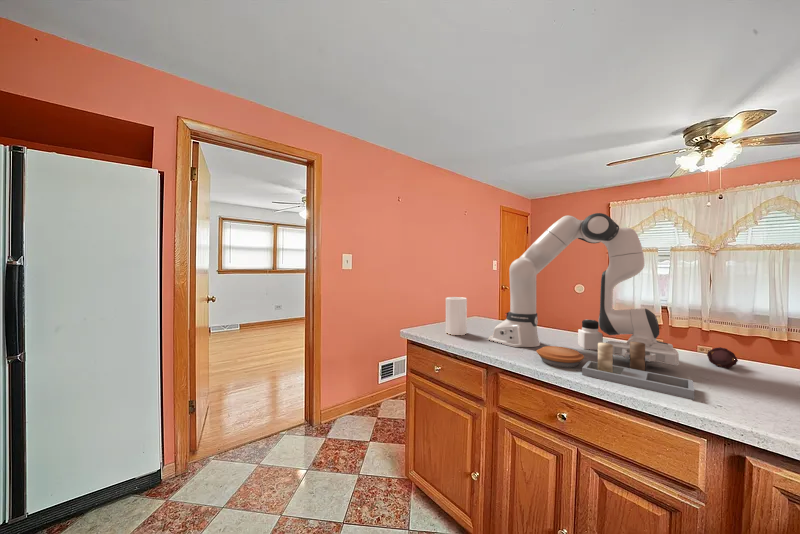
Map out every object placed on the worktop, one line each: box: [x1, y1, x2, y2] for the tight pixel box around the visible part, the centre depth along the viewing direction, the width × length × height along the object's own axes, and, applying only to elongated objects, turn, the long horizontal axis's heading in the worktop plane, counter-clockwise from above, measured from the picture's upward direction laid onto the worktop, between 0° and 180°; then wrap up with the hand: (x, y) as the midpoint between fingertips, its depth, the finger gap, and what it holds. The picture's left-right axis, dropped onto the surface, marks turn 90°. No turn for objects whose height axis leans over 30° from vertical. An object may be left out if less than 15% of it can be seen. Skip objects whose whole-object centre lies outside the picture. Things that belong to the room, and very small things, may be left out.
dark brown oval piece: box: [706, 346, 739, 369], centre depth 106 cm, size 7×7×15 cm
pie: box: [535, 345, 585, 369], centre depth 110 cm, size 16×16×5 cm
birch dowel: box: [597, 342, 614, 373], centre depth 97 cm, size 4×4×10 cm
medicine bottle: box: [577, 319, 604, 351], centre depth 130 cm, size 7×7×12 cm
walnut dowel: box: [629, 342, 646, 371], centre depth 99 cm, size 4×4×10 cm
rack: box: [581, 360, 695, 401], centre depth 92 cm, size 26×10×2 cm, turn 47°
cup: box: [445, 296, 468, 336], centre depth 156 cm, size 11×11×18 cm
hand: (637, 357), depth 98 cm, fingers closed on walnut dowel, 4 cm apart
